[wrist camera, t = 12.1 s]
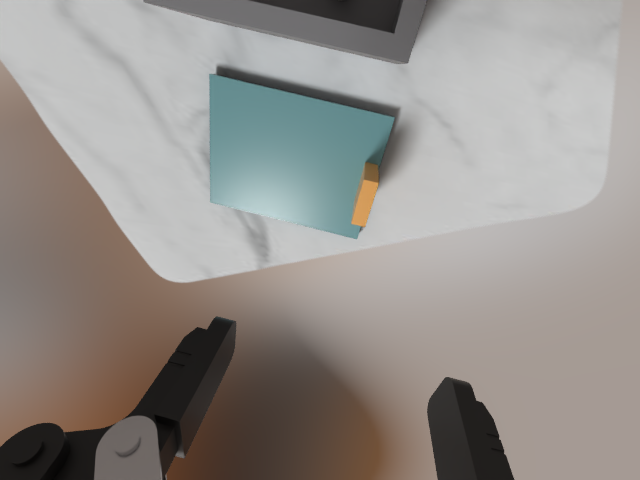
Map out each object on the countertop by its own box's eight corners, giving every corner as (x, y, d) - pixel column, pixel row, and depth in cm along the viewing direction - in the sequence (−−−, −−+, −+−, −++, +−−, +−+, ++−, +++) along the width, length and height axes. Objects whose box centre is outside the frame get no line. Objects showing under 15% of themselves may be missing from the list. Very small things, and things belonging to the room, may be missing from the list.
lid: (216, 197, 33) (185, 223, 27) (216, 73, 26) (176, 75, 21) (357, 232, 32) (354, 266, 27) (393, 115, 26) (399, 128, 20)
